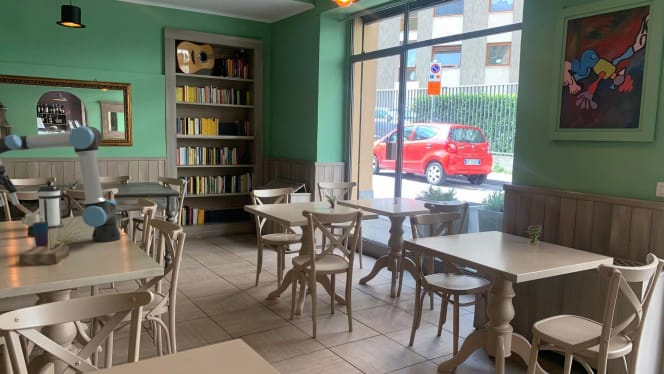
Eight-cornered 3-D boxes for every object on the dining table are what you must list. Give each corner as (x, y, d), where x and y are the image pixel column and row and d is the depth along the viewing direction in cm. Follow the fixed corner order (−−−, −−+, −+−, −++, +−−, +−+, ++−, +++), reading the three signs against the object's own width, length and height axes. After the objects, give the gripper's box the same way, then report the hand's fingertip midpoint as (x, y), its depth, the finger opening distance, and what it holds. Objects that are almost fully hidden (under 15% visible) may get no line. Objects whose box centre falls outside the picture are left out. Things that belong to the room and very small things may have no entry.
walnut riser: (69, 255, 254) (68, 245, 253) (56, 263, 238) (55, 253, 238) (34, 256, 252) (34, 246, 251) (19, 265, 236) (19, 254, 236)
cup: (34, 253, 258) (32, 224, 256) (34, 250, 264) (33, 222, 262) (49, 252, 261) (47, 223, 259) (49, 249, 267) (48, 221, 265)
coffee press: (58, 229, 320) (55, 182, 316) (33, 229, 320) (30, 182, 317) (72, 224, 337) (70, 179, 334) (48, 224, 337) (46, 179, 334)
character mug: (44, 234, 306) (43, 212, 304) (43, 236, 299) (42, 214, 298) (23, 235, 301) (21, 214, 299) (22, 238, 294) (20, 216, 293)
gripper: (1, 169, 280) (15, 206, 281) (-27, 169, 255) (-12, 209, 256) (14, 165, 280) (28, 201, 281) (-12, 164, 256) (3, 204, 257)
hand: (9, 205), depth 269 cm, fingers open, 13 cm apart
